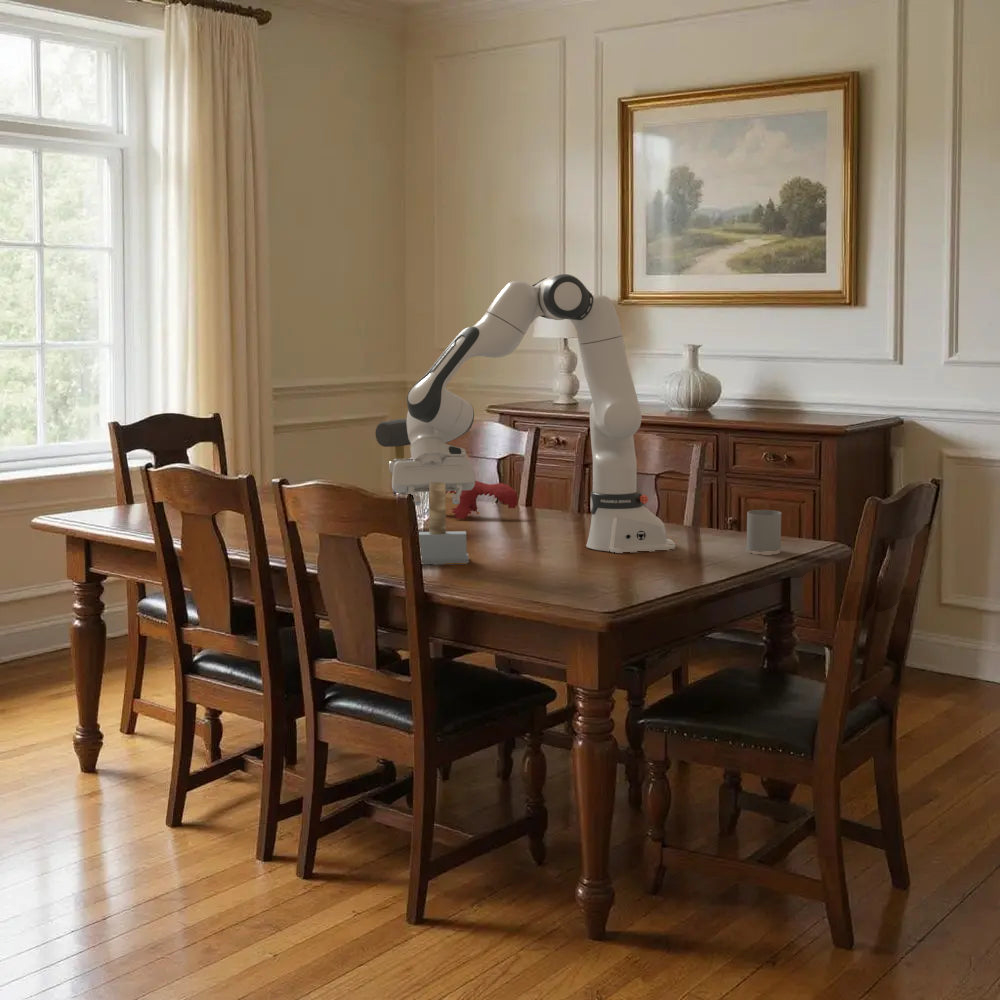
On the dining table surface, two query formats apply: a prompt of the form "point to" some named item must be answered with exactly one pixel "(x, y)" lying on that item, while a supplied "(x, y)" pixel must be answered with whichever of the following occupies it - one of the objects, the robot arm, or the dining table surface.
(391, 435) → the rubber mallet
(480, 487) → the red irregular arched piece
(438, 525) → the dowel
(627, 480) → the robot arm
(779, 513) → the cup
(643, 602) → the dining table surface
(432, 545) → the gray rectangular block
